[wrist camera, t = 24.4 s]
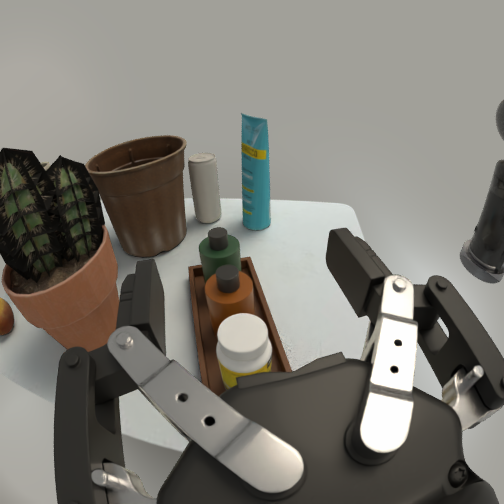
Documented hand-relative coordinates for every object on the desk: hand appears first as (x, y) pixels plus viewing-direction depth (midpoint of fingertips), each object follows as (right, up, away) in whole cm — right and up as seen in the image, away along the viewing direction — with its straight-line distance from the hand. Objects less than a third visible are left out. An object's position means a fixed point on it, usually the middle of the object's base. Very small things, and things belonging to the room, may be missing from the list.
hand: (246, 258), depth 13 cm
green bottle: (-3, -4, +25) cm, 26 cm away
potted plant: (-20, -10, +20) cm, 30 cm away
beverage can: (-8, +6, +41) cm, 42 cm away
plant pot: (-17, +3, +36) cm, 40 cm away
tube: (+1, +5, +39) cm, 39 cm away
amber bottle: (-2, -8, +20) cm, 22 cm away
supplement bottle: (0, -13, +14) cm, 19 cm away
